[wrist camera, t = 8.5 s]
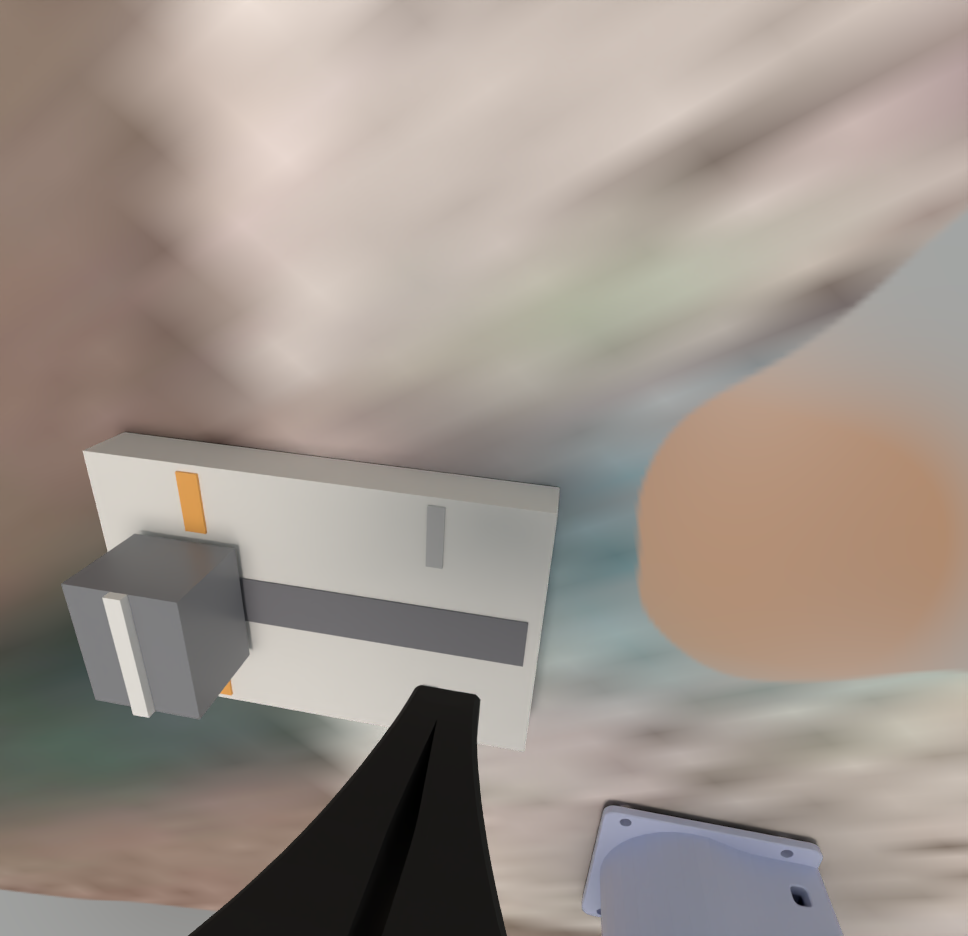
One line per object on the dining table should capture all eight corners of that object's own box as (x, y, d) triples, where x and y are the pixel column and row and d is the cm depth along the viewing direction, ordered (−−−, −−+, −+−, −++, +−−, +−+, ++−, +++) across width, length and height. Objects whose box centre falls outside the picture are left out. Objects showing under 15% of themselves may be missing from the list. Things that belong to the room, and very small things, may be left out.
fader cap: (235, 548, 20) (170, 608, 17) (249, 654, 22) (194, 726, 19) (134, 533, 20) (53, 589, 17) (158, 639, 22) (88, 706, 19)
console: (559, 487, 19) (557, 515, 18) (528, 712, 24) (524, 754, 22) (124, 432, 21) (80, 451, 19) (171, 650, 26) (138, 683, 24)
